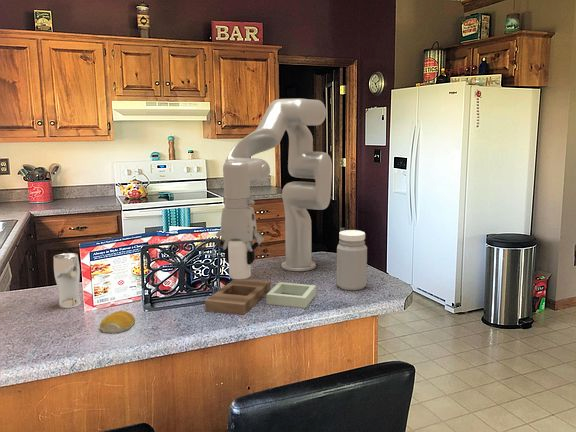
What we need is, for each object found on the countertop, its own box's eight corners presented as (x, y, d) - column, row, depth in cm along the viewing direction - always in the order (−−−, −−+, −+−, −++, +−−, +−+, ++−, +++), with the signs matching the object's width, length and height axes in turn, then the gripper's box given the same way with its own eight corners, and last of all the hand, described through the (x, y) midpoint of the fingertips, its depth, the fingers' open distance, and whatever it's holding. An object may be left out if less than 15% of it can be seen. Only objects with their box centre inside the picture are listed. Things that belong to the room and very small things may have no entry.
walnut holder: (235, 287, 168) (235, 278, 168) (270, 290, 165) (270, 281, 164) (205, 310, 148) (204, 300, 147) (244, 314, 144) (243, 304, 143)
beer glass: (60, 301, 156) (55, 253, 153) (84, 299, 157) (80, 252, 155) (54, 309, 149) (50, 259, 147) (80, 307, 151) (76, 258, 148)
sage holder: (279, 291, 164) (279, 282, 163) (316, 294, 160) (316, 285, 160) (266, 303, 152) (266, 294, 152) (305, 308, 149) (305, 298, 148)
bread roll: (138, 321, 141) (138, 307, 140) (125, 334, 132) (124, 319, 131) (109, 320, 142) (108, 306, 141) (94, 333, 133) (93, 319, 132)
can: (240, 281, 151) (239, 242, 148) (224, 277, 155) (223, 239, 152) (255, 275, 156) (253, 237, 154) (239, 272, 160) (237, 234, 157)
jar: (363, 292, 162) (364, 236, 158) (333, 289, 165) (333, 234, 161) (368, 283, 171) (369, 230, 167) (339, 280, 174) (340, 228, 170)
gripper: (269, 202, 152) (271, 260, 155) (216, 200, 157) (218, 257, 161) (260, 207, 145) (262, 268, 148) (204, 204, 150) (207, 263, 154)
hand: (239, 261), depth 154 cm, fingers closed on can, 6 cm apart
